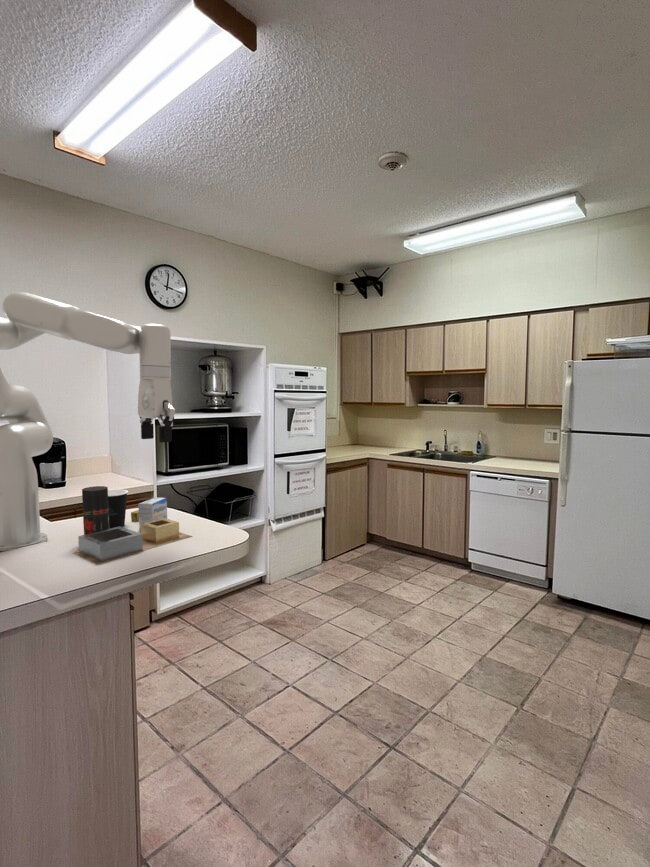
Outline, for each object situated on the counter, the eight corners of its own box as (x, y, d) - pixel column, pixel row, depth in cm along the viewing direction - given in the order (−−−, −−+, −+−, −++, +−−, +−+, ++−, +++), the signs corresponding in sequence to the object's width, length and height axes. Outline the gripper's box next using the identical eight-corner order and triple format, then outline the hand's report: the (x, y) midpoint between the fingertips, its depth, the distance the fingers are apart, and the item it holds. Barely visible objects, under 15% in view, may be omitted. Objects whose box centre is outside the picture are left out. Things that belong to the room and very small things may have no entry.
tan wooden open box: (141, 538, 124) (140, 523, 124) (164, 532, 130) (163, 517, 129) (156, 543, 120) (155, 528, 120) (179, 536, 125) (178, 522, 125)
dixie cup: (124, 523, 141) (123, 488, 140) (132, 530, 135) (131, 492, 134) (96, 528, 136) (94, 491, 135) (103, 535, 130) (101, 496, 129)
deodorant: (113, 545, 122) (111, 488, 120) (89, 550, 117) (86, 491, 116) (105, 540, 126) (102, 485, 124) (81, 545, 122) (78, 488, 120)
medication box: (159, 515, 152) (158, 503, 152) (166, 515, 151) (165, 503, 151) (130, 524, 141) (130, 511, 141) (137, 525, 140) (137, 512, 140)
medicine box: (153, 534, 131) (152, 503, 130) (138, 533, 132) (137, 503, 131) (168, 526, 139) (167, 497, 138) (154, 525, 140) (153, 496, 139)
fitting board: (72, 557, 113) (72, 553, 113) (166, 531, 133) (166, 528, 133) (97, 568, 106) (96, 564, 105) (192, 539, 126) (192, 536, 126)
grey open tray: (79, 552, 113) (78, 536, 113) (120, 541, 122) (119, 526, 121) (100, 561, 107) (99, 544, 107) (142, 549, 115) (142, 533, 115)
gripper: (126, 373, 123) (127, 438, 124) (158, 372, 111) (159, 444, 112) (153, 374, 128) (154, 436, 130) (186, 374, 116) (187, 442, 118)
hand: (156, 440), depth 121 cm, fingers open, 9 cm apart
